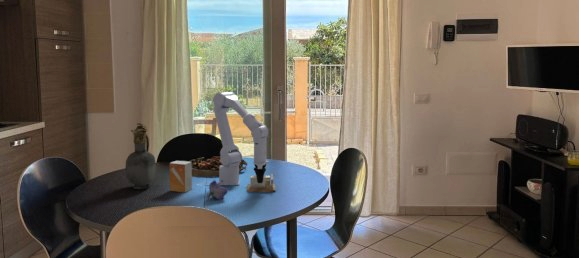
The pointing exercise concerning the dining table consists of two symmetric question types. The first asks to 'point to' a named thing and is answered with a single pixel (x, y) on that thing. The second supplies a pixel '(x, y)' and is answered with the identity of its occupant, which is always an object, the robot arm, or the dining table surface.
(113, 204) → the dining table surface
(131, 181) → the pitcher
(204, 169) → the food dish
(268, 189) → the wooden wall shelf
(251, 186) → the gray rectangular block
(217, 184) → the flower
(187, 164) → the small box
